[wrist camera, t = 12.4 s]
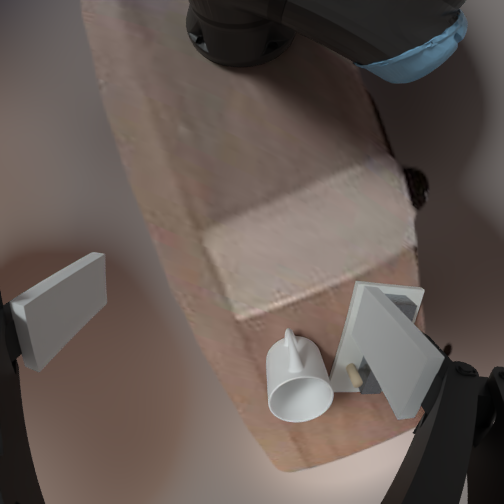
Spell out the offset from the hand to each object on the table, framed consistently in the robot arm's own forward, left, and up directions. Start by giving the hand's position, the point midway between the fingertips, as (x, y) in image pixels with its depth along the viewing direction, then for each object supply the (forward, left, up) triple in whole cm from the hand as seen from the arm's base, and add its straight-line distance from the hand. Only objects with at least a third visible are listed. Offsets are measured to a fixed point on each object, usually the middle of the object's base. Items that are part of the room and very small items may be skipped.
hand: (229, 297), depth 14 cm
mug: (+19, +9, -27) cm, 34 cm away
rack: (+17, +23, -27) cm, 39 cm away
